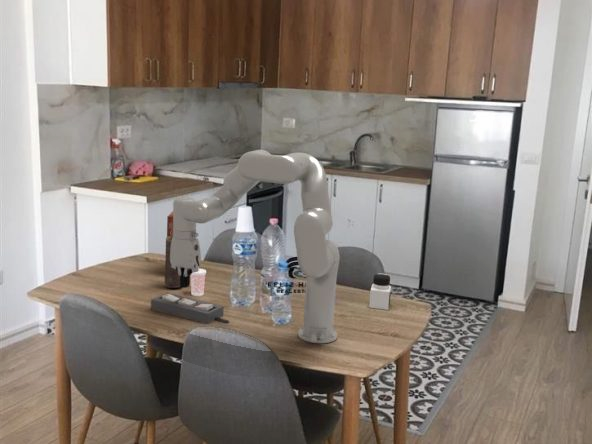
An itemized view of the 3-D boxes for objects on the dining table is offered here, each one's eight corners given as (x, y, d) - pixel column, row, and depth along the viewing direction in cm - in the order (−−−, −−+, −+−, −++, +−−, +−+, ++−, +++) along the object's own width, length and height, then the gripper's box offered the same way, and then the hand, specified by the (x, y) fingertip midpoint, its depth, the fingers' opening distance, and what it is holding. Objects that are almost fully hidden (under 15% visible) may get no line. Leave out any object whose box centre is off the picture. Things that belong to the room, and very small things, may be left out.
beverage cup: (186, 292, 242) (186, 256, 239) (200, 290, 246) (200, 254, 243) (194, 297, 237) (195, 260, 234) (208, 294, 241) (209, 258, 238)
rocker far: (179, 301, 225) (180, 298, 225) (172, 304, 222) (173, 301, 222) (168, 296, 227) (168, 293, 227) (161, 299, 224) (162, 296, 224)
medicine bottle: (388, 310, 235) (391, 278, 233) (369, 307, 236) (371, 276, 234) (389, 304, 242) (392, 273, 239) (370, 301, 243) (373, 271, 241)
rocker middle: (196, 305, 222) (196, 301, 222) (189, 308, 219) (189, 304, 219) (184, 301, 224) (184, 297, 224) (177, 304, 221) (178, 300, 221)
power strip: (235, 319, 218) (235, 309, 218) (220, 327, 211) (220, 317, 210) (167, 301, 231) (167, 292, 231) (150, 308, 224) (151, 299, 223)
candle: (186, 289, 246) (186, 238, 241) (166, 291, 243) (167, 239, 239) (181, 283, 252) (182, 233, 248) (163, 284, 250) (163, 234, 245)
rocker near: (213, 307, 219) (212, 304, 218) (206, 310, 216) (206, 307, 215) (201, 307, 221) (200, 303, 221) (194, 310, 218) (194, 306, 218)
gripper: (209, 235, 217) (209, 287, 221) (174, 229, 223) (174, 280, 227) (196, 239, 210) (196, 293, 214) (159, 233, 217) (160, 285, 221)
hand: (184, 286), depth 221 cm, fingers closed
